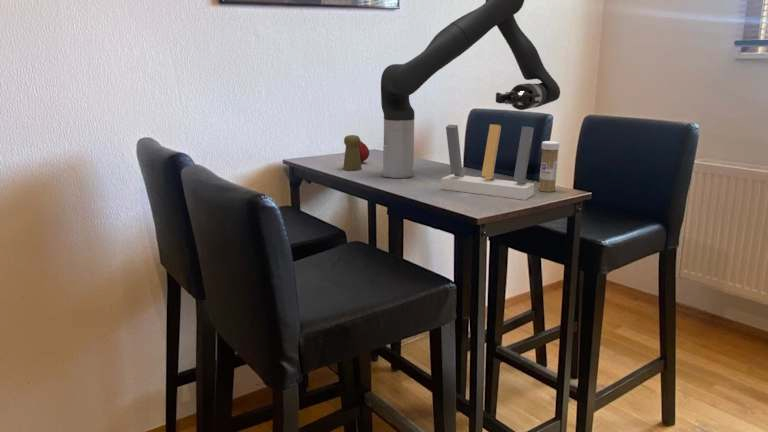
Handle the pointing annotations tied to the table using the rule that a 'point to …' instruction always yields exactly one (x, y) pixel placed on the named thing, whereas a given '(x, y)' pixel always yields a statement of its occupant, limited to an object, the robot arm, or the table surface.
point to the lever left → (454, 149)
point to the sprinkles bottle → (548, 166)
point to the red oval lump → (363, 151)
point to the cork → (352, 153)
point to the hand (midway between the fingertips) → (505, 99)
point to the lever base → (488, 186)
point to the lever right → (523, 154)
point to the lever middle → (491, 151)
